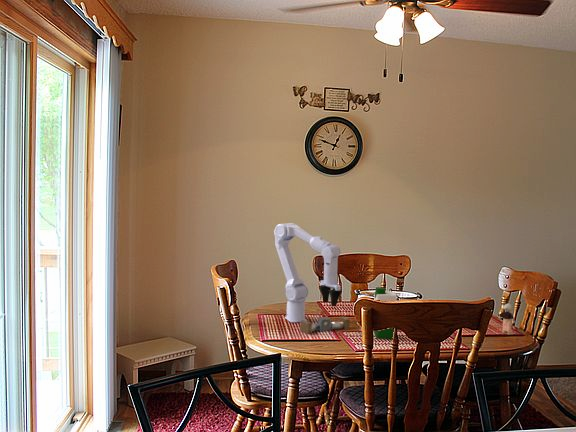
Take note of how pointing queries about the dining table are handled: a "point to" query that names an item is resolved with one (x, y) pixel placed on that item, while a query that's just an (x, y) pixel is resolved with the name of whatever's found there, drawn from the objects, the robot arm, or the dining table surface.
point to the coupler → (324, 323)
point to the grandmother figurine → (507, 319)
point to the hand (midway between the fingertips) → (329, 304)
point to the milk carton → (384, 296)
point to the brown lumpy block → (308, 327)
